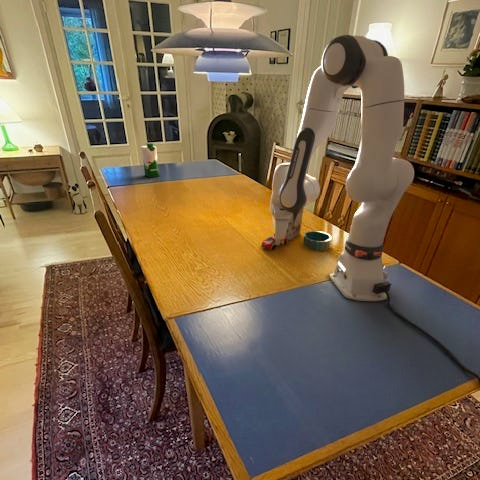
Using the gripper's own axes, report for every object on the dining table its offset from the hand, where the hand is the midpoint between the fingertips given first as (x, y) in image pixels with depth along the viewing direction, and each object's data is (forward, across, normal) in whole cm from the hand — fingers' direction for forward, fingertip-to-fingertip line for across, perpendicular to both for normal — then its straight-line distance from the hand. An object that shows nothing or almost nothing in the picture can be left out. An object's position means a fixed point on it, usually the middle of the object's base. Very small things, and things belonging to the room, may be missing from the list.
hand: (276, 240), depth 142 cm
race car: (+3, 0, 0) cm, 3 cm away
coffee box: (+3, -12, +7) cm, 14 cm away
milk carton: (+9, -111, -77) cm, 135 cm away
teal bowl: (+2, -1, +17) cm, 17 cm away
